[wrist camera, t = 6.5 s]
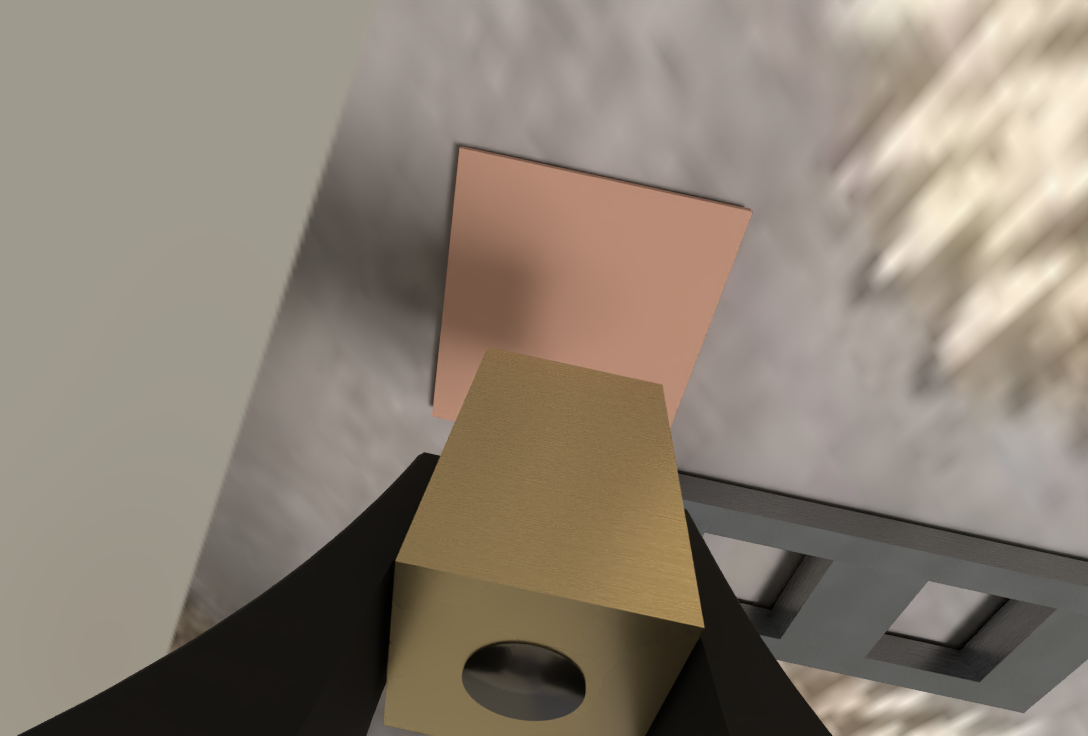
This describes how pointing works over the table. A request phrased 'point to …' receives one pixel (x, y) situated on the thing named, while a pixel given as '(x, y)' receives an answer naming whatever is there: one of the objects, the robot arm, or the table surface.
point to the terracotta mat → (579, 274)
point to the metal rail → (903, 597)
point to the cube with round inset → (545, 562)
